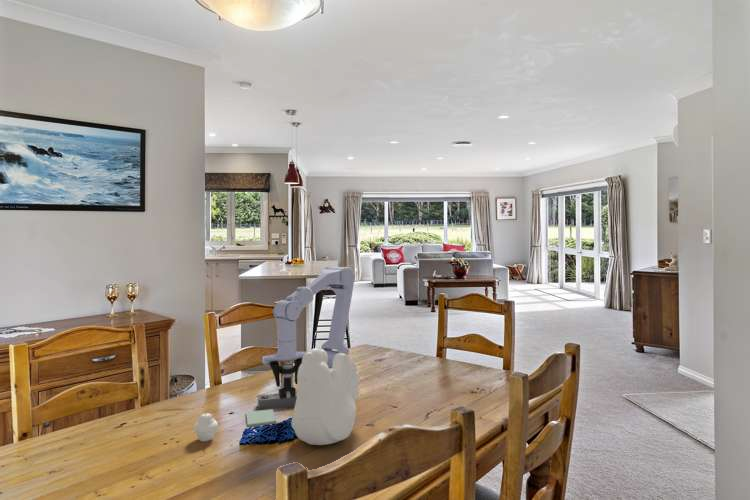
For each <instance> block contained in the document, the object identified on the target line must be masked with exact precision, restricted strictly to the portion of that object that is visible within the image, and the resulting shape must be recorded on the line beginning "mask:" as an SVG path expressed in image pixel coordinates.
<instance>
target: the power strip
mask: <svg viewBox="0 0 750 500" xmlns="http://www.w3.org/2000/svg"><path fill="white" fill-rule="evenodd" d="M297 391H298V390H297ZM297 391H296V396H295V397H290V398H282V399H281V398H280V397H274V396H279V394H274V393H269V394H260V395H257V407H258V411H259V410H268V409H273V410H274V409H280V408H289V407H295V404H296V399H297Z"/></svg>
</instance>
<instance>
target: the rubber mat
mask: <svg viewBox="0 0 750 500" xmlns="http://www.w3.org/2000/svg"><path fill="white" fill-rule="evenodd" d="M245 415H246V424H247V427H254V426H261V425H262V426H263V425H270V424H277V420H276V417H275V412H274V408H273V409H265V410H259V409H258V410H251V411H246V412H245Z"/></svg>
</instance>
